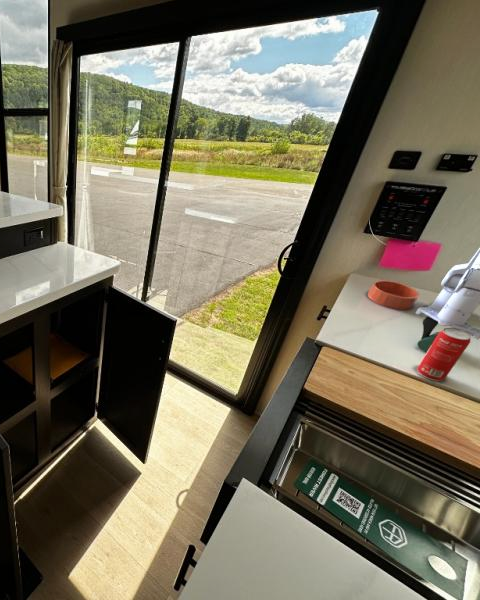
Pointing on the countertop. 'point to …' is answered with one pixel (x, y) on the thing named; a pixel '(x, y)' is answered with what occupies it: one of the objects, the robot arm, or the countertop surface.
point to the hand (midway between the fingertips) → (432, 342)
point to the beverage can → (443, 353)
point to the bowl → (393, 294)
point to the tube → (427, 342)
